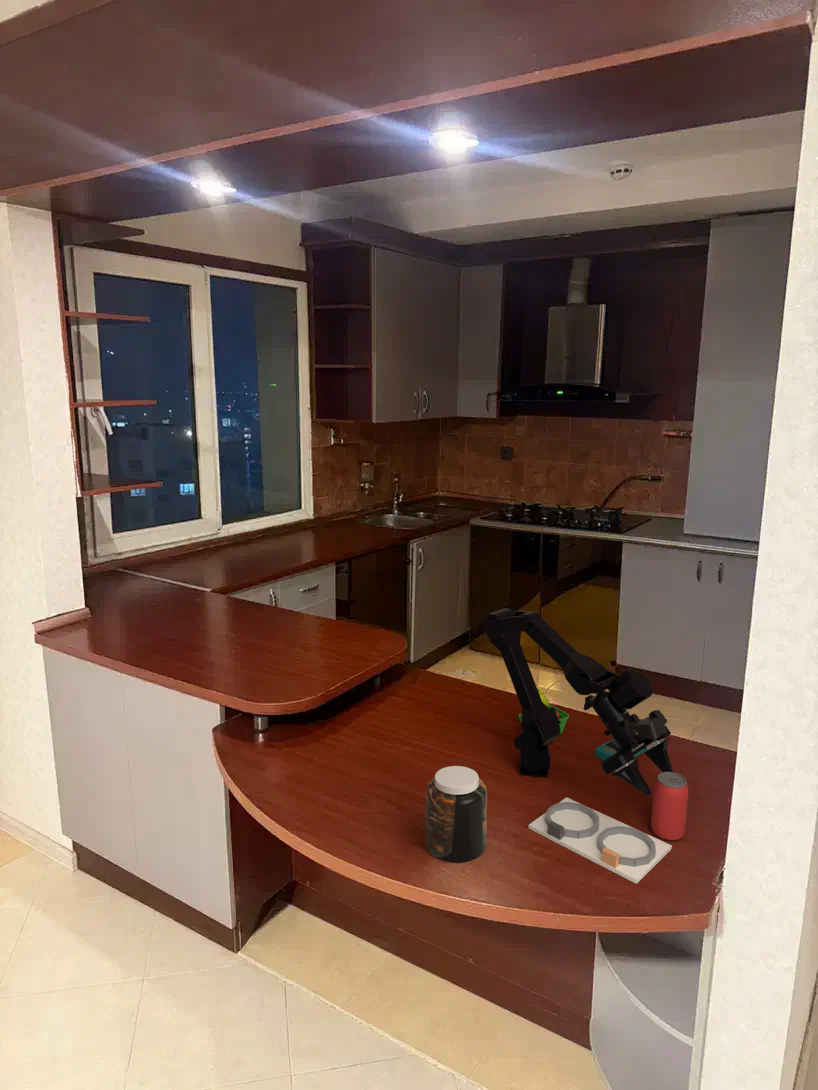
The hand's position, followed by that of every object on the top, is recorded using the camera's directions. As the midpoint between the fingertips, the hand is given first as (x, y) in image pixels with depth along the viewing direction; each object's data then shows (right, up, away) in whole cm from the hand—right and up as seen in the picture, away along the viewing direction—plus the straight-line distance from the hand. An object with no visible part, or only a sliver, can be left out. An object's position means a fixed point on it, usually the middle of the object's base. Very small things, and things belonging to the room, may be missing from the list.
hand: (661, 786), depth 150 cm
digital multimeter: (+2, -3, +32) cm, 32 cm away
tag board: (-13, -10, -1) cm, 17 cm away
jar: (-42, -11, -3) cm, 43 cm away
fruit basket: (-17, 0, +42) cm, 45 cm away
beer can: (+1, -10, +1) cm, 10 cm away
